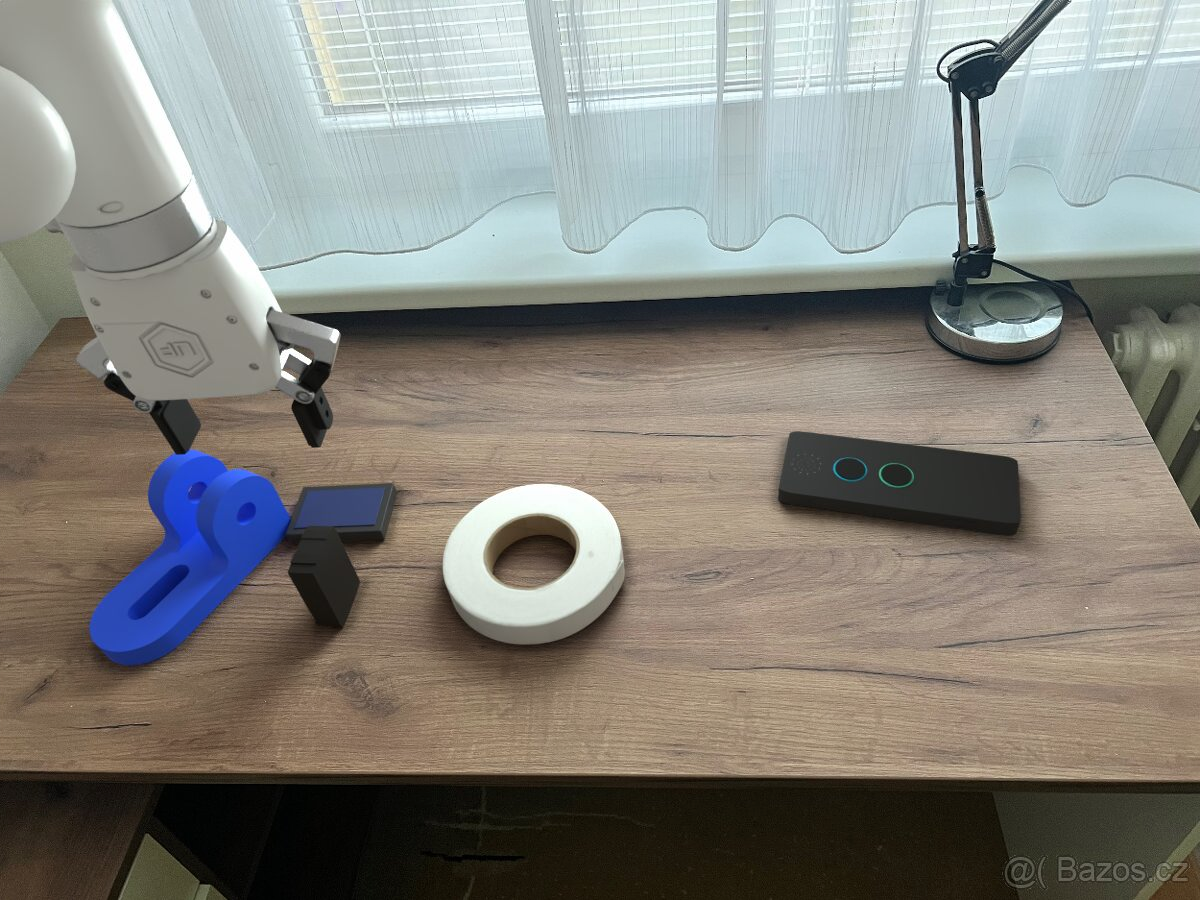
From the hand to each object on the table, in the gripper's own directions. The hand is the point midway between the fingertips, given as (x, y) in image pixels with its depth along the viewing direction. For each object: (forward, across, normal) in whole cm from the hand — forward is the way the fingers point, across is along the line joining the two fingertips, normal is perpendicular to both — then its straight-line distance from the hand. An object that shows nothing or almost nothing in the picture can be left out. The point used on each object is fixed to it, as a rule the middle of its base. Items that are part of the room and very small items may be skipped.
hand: (255, 437), depth 62 cm
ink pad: (+20, -2, +10) cm, 22 cm away
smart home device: (+20, +49, +11) cm, 54 cm away
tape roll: (+20, +17, +3) cm, 26 cm away
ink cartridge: (+20, 0, 0) cm, 20 cm away
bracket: (+20, -15, +3) cm, 25 cm away
